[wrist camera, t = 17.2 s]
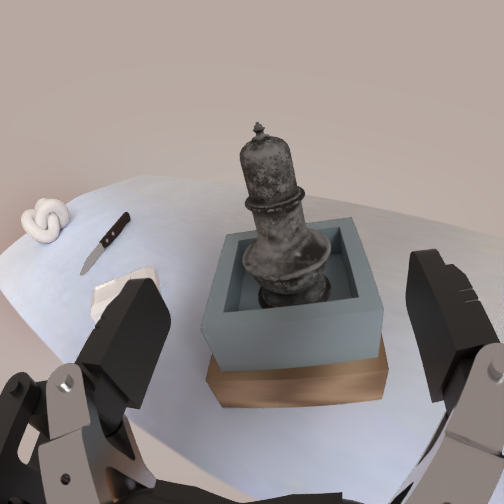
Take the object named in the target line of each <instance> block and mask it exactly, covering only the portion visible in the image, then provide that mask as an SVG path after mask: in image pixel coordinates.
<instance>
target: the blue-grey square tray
mask: <svg viewBox="0 0 504 504" xmlns="http://www.w3.org/2000/svg"><path fill="white" fill-rule="evenodd" d="M305 224H306V226H307V228H310V229H315V230H317V231H319V232H321V233H323V234H324V235H325V236H326V237H327V238H328V239H329V241H330V244H331V252H330V255H329V257H328V259H327V264H326V267H325V270H324V272H323V274H324V275H325V276H326V277H327V278H328V279H329V282H330V284H331V293H330V295H329V298H328V300H327V301H326V302H321V303H313V304H304V305H296V306H287V307H277V308H268V309H263V308H262V307H261V305H260V303H259V301H258V293H259V290H260V287H261V286H260V285H259V284H258V283H257V282H256V281H255V280H254V278H253V277H252V275H251V274H250V273H249V272H248V271H246V269H245V267H244V265H243V254H244V252H245V250H246V248H247V247H248V246H249V245H250V244H251V243H252V242H253V241H255V240H256V239H257V237H258V235H257V230H255V231H248V232H241V233H234V234H228V235H226V238H225V242H224V245H223V249H222V252H221V256H220V259H219V263H218V266H217V270H216V273H215V277H214V280H213V284H212V288H211V291H210V295H209V299H208V302H207V306H206V310H205V313H204V317H203V321H202V324H201V328H200V329H201V331H202V333H203V335H204V337H205V339H206V341H207V343H208V345H209V347H210V349H211V351H212V353H213V355H214V357H215V359H216V361H217V363H218V365H219V367H220V369H221V371H222V372H232V371H255V370H271V369H285V368H297V367H307V366H317V365H326V364H334V363H342V362H350V361H357V360H364V359H370V358H376V357H378V354H379V346H380V338H381V330H382V321H383V311H384V308H383V305H382V302H381V299H380V296H379V292H378V289H377V286H376V283H375V280H374V277H373V274H372V271H371V268H370V265H369V263H368V260H367V257H366V254H365V251H364V248H363V246H362V243H361V240H360V237H359V235H358V232H357V229H356V227H355V224H354V222H353V219H352V217H350V218H342V219H334V220H327V221H319V222H312V223H305Z"/></svg>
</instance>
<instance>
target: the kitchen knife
mask: <svg viewBox="0 0 504 504" xmlns="http://www.w3.org/2000/svg"><path fill="white" fill-rule="evenodd" d="M129 221H130V215H129V213H128V212H125V213H124V214H123V215H122V216H121V217H120V218H119V220H118V221H117V222H116V223H115V224H114V225H113V227H112V228H111V229H110V230H109V231H108V232H107V234H106V235H105V236H104V237H103V238H102V239H101V241H100V242H99V244H98V246H97V247H96V248H95V249H94V250H93V252H92V253H91V254H90V255H89V256H88V258H87V259H86V261H85V263H84V266H83V268H82V270H81V273H80V275H83V274H84V273H86V272H87V271H88V270H89V269H90V268H91V267H92V266H93V264H94V263H95V262H96V261H97V260H98V258H99V257H100V256H101V254H102V253H103V252H104V251H105V247H107V246H108V245H109V244H110V243H111V242H112V241H113V240H114V239H115V238H116V237H117V236H118V235H119V234H120V232H121V231H122V229H123V227H124V226H125V224H126V223H128V222H129Z"/></svg>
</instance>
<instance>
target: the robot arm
mask: <svg viewBox="0 0 504 504" xmlns="http://www.w3.org/2000/svg"><path fill="white" fill-rule="evenodd" d="M406 307H407V311H408V315H409V318H410V321H411V324H412V328H413V331H414V334H415V338H416V341H417V345H418V348H419V352H420V356H421V359H422V363H423V367H424V371H425V375H426V379H427V383H428V388H429V392H430V396H431V401H432V403H434V402H438V401H443V400H444V402H445V407H446V411H445V413H444V415H443V417H442V419H441V421H440V423H439V425H438V426H437V428H436V430H435V432H434V434H433V436H432V438H431V440H430V441H429V443H428V445H427V447H426V448H425V450H424V452H423V454H422V455H421V457H420V459H419V460H418V462H417V464H416V465H415V467H414V468H413V470H412V471H411V473H410V474H409V475H408V477H407V478H406V479H405V481H404V482H403V484H402V485H401V486H400V488H399V489H398V491H397V492H396V493H395V495H394V496H393V498H392V499H391V500H390V502H389V503H388V504H488V502H489V500H490V498H491V496H492V494H493V492H494V490H495V488H496V485H497V483H498V481H499V479H500V476H501V474H502V471H503V469H504V455H502V449H503V446H504V344H502V343H500V341H499V339H498V337H497V335H496V333H495V330H494V328H493V326H492V324H491V322H490V320H489V318H488V316H487V314H486V312H485V310H484V308H483V306H482V304H481V302H480V301H478V296H477V295H476V293H475V291H474V290H473V287H472V285H471V284H470V282H469V280H468V278H467V276H466V275H465V274H464V273H463V272H462V271H461V270H460V269H458V268H457V267H456V266H455V265H453V264H449V265H445V263H444V261H443V259H442V258H441V256H440V254H439V252H438V251H437V250H436V249H429V250H421V251H412V252H411V254H410V260H409V270H408V278H407V286H406ZM100 318H101V319H99V320H98V322H97V324H96V325H95V329H93V331H92V332H91V334H90V336H89V338H88V339H87V341H86V343H85V345H84V347H83V348H82V350H81V352H80V354H79V356H78V358H77V360H76V361H75V363H67V364H64V365H62V366H60V367H58V368H57V369H56V370H55V371H54V372H53V373H52V374H51V376H50V377H49V379H48V380H47V381H41V382H35V381H34V380H33V379H32V378H31V377H30V376H29V375H28V374H27V373H25V372H20V373H17V374H15V375H14V376H12V377H11V378H10V379H9V381H8V382H7V383H6V385H5V387H4V389H3V391H2V393H1V395H0V504H364V503H360V502H356V501H353V500H346V499H342V492H339V493H324V494H292V495H287V496H282V497H277V498H272V499H267V500H261V501H255V502H248V503H238V502H235V501H232V500H229V499H226V498H223V497H221V496H218V495H215V494H213V493H210V492H208V491H205V490H203V489H200V488H198V487H195V486H188V485H182V484H177V483H172V482H167V481H163V480H158V479H156V478H155V477H154V475H153V474H152V473H151V472H150V471H149V470H148V468H147V467H146V466H145V464H144V462H143V460H142V457H141V454H140V452H139V449H138V446H137V444H136V441H135V438H134V436H133V433H132V430H131V427H130V424H129V421H128V418H127V417H126V415H125V414H124V412H125V409H126V407H128V408H135V409H140V408H141V405H142V402H143V399H144V396H145V394H146V391H147V388H148V385H149V383H150V380H151V377H152V374H153V372H154V369H155V366H156V364H157V361H158V358H159V356H160V353H161V351H162V348H163V345H164V343H165V340H166V338H167V335H168V332H169V330H170V326H171V317H170V313H169V310H168V308H167V306H166V304H165V302H164V300H163V298H162V296H161V294H160V292H159V290H158V288H157V286H156V284H155V282H154V281H153V280H152V279H151V278H140V279H130V280H128V281H127V282H126V284H125V285H124V287H123V288H122V290H121V292H120V293H119V295H117V296H116V297H115V298H114V299H113V300H112V301H111V302H110V303H109V304H108V305H107V307H106V308H105V310H104V312H103V313H102V315H101V317H100ZM28 423H29V424H30V425H31V426H33V427H34V428H35V429H36V430H38V431H39V432H40V434H39V437H38V439H37V442H36V445H35V447H34V450H33V453H32V456H31V458H30V461H29V463H28V464H27V465H25V464H24V463H22V462H21V461H20V459H19V457H18V454H17V451H18V447H19V444H20V442H21V439H22V437H23V434H24V432H25V429H26V426H27V424H28Z"/></svg>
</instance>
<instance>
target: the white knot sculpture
mask: <svg viewBox="0 0 504 504" xmlns="http://www.w3.org/2000/svg"><path fill="white" fill-rule="evenodd" d="M57 215H58V217H57ZM68 221H69V210H68V208H67V207H66V205H65V204H64V203H63V202H62V201H60V200H58V199H47V198H41V199H40V200H38V202H37V203H36V205H35V208H34V210H33V209H28V210H26V211H25V212H24V213H23V214H22V216H21V223H22V226H23V228H24V230H25V231H26V232H27V234H29V235H30V236H31V237H32V238H33V239H35V240H36V241H37V242H42V243H51V242H53V241H55V240H56V238H57V237H58V235H59V231H60V230H61V229H63V228H64V227H65V226H66V225H67V223H68ZM47 229H48V230H47Z"/></svg>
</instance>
